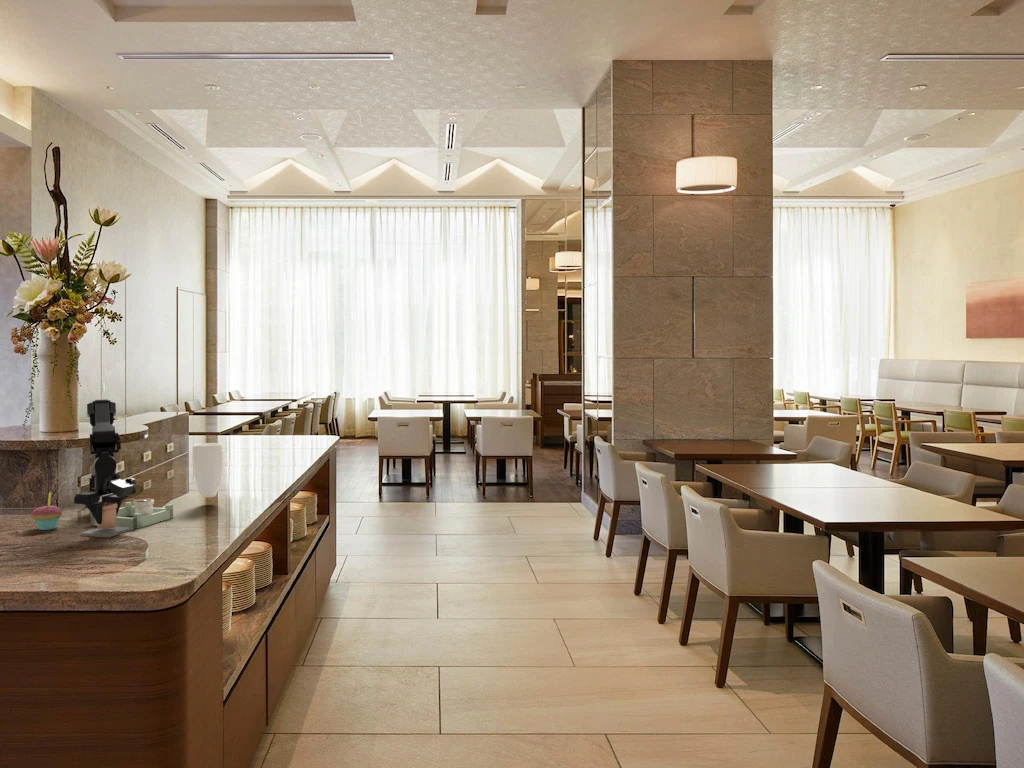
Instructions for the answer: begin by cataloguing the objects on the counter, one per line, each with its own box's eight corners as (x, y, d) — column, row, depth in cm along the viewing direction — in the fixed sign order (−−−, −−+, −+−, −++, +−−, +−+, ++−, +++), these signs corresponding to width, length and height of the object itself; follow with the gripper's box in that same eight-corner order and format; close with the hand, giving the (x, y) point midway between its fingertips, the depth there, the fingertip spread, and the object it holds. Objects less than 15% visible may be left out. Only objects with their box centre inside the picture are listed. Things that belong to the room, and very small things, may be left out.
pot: (129, 523, 253) (129, 501, 253) (143, 519, 259) (142, 498, 259) (145, 524, 251) (144, 502, 251) (158, 520, 257) (158, 499, 257)
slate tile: (80, 535, 238) (80, 532, 238) (106, 528, 247) (106, 525, 247) (107, 537, 235) (107, 534, 235) (132, 529, 244) (132, 527, 244)
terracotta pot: (91, 528, 239) (90, 505, 238) (106, 524, 245) (105, 501, 244) (107, 529, 237) (106, 506, 237) (122, 525, 243) (121, 502, 243)
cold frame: (90, 525, 251) (90, 511, 251) (128, 514, 267) (128, 501, 266) (137, 528, 246) (137, 514, 246) (173, 517, 262) (172, 504, 261)
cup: (186, 506, 281) (185, 445, 280) (208, 500, 290) (206, 442, 289) (209, 508, 277) (208, 446, 276) (230, 502, 286) (229, 443, 285)
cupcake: (69, 526, 250) (67, 488, 249) (45, 532, 242) (43, 493, 241) (48, 524, 253) (47, 487, 252) (24, 530, 245) (22, 491, 244)
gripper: (102, 477, 229) (104, 530, 230) (149, 467, 247) (150, 517, 247) (71, 475, 232) (73, 528, 233) (120, 466, 250) (121, 515, 251)
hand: (106, 522), depth 241 cm, fingers closed on terracotta pot, 5 cm apart
